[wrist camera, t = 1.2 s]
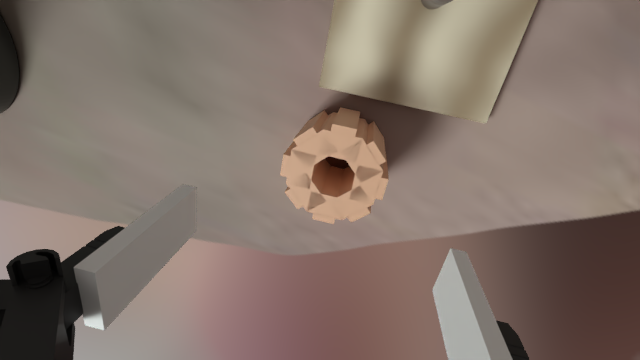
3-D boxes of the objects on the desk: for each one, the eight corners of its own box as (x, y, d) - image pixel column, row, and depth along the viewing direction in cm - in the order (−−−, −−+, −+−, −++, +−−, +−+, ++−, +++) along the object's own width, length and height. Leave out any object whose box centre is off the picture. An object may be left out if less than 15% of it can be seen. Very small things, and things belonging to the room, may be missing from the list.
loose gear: (292, 180, 32) (275, 209, 26) (305, 99, 28) (289, 113, 23) (372, 199, 31) (371, 233, 26) (396, 119, 28) (401, 139, 22)
